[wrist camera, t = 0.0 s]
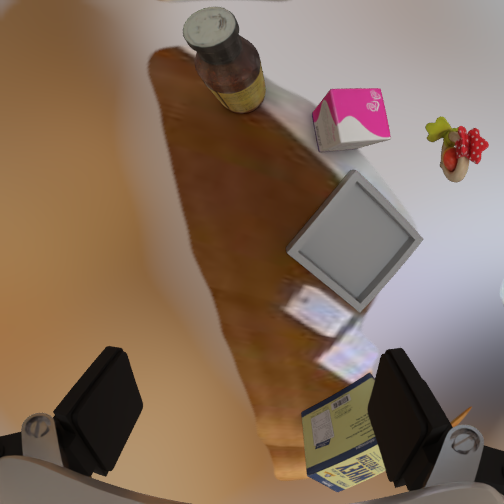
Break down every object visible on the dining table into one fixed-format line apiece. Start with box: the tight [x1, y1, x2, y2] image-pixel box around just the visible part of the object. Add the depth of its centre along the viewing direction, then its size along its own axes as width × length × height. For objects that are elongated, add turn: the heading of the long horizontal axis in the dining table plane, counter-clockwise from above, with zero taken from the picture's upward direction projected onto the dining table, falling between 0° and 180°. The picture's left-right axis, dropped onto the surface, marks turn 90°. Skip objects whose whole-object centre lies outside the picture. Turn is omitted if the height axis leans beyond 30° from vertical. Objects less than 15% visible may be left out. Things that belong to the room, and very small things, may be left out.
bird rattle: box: [425, 117, 489, 182], centre depth 30 cm, size 6×11×9 cm
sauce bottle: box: [183, 7, 266, 113], centre depth 25 cm, size 7×6×20 cm
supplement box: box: [312, 88, 391, 152], centre depth 30 cm, size 6×6×12 cm
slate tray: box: [286, 170, 423, 312], centre depth 38 cm, size 14×14×3 cm
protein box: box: [301, 373, 386, 492], centre depth 40 cm, size 10×16×16 cm
